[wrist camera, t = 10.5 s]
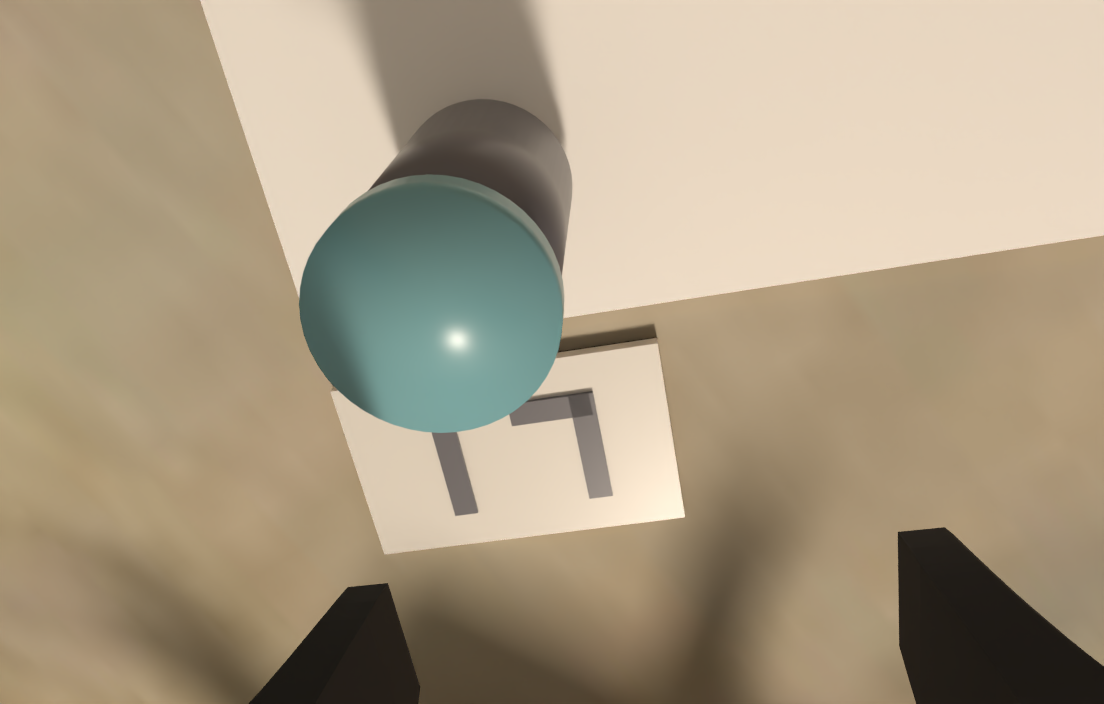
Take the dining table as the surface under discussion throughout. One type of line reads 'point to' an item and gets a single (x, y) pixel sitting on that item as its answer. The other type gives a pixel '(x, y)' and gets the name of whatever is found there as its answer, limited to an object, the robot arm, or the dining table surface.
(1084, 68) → the paper
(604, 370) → the word card
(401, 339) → the marker
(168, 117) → the dining table surface
